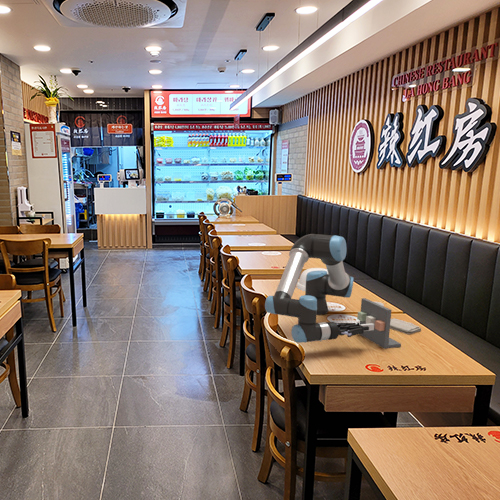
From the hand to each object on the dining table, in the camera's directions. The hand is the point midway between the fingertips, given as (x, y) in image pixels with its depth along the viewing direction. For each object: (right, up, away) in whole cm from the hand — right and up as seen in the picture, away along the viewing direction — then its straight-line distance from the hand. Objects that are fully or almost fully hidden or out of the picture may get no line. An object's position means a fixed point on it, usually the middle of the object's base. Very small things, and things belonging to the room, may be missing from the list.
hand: (373, 326), depth 197 cm
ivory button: (+1, 0, +8) cm, 9 cm away
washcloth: (+23, -7, +31) cm, 39 cm away
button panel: (+6, -8, +11) cm, 15 cm away
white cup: (+12, -4, +40) cm, 42 cm away
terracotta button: (+4, -2, +2) cm, 5 cm away
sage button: (-1, +1, +15) cm, 15 cm away
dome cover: (-8, +7, +110) cm, 111 cm away
